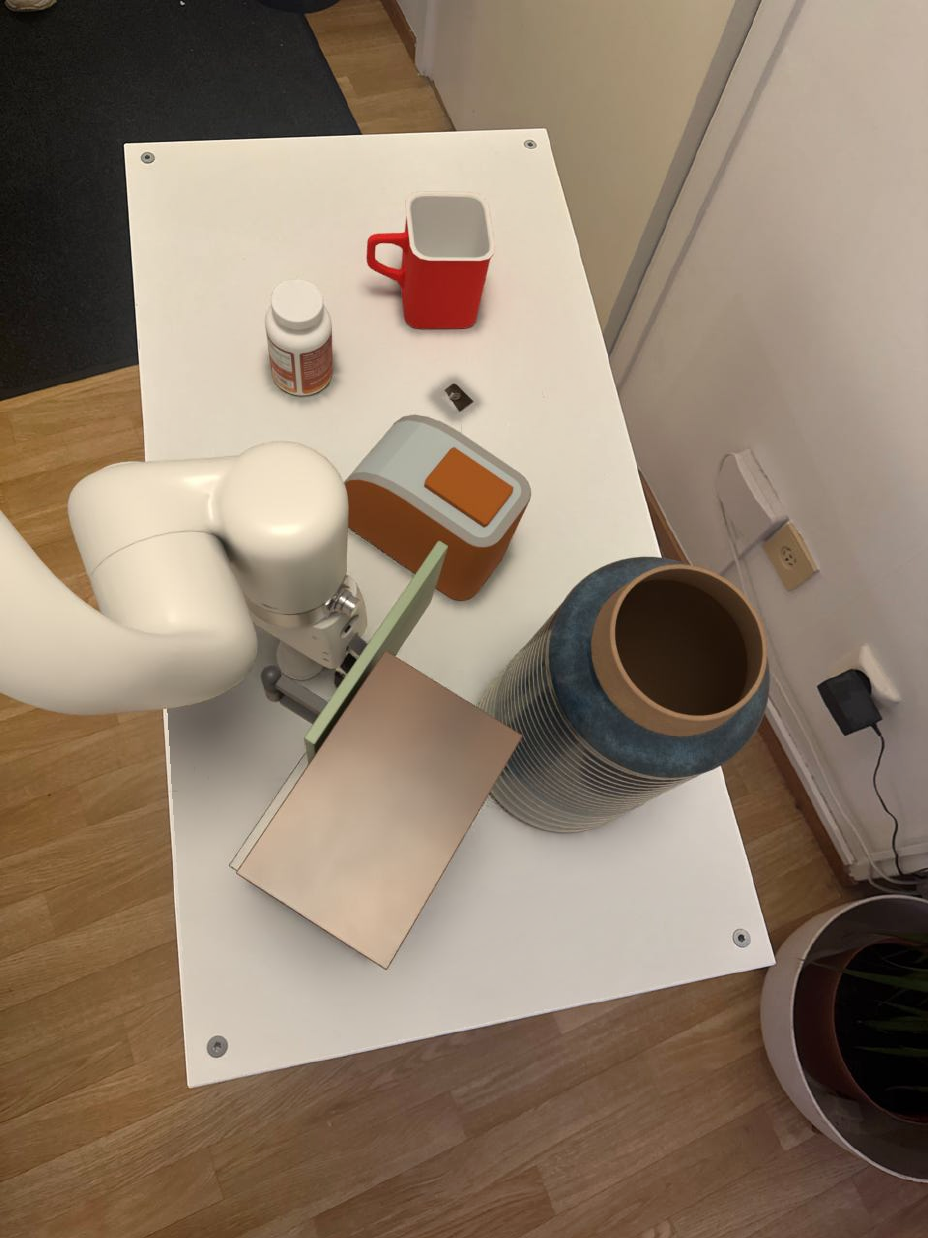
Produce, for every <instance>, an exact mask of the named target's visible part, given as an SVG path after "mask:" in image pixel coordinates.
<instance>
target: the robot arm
mask: <svg viewBox="0 0 928 1238" xmlns="http://www.w3.org/2000/svg"><path fill="white" fill-rule="evenodd" d="M344 481H345V480H344V479H343V477H342V475H341V473H340V472H339V471H338V469H337V467H336V466H335V465H334V464H333V463H332V462H331V461H330V460H329V458H328V457H326V456H324V455H323V454H322V453H321V452H320V451H318V450H317V449H315V448H313V447H310V446H308V445H306V444H302V443H299V442H295V441H287V440H273V441H268V442H262V443H259V444H257V445H254V446H251V447H249V448H248V449H245V450H243V451H242V452H241V453H240V454H238V455H237V454H236V455H227V456H215V457H214V456H213V457H202V458H185V459H184V458H183V459H164V460H148V461H138V460H137V461H134V460H133V461H132V460H131V461H129V460H128V461H120V462H116V463H112V464H109V465H107V466H105V467H103V468H101V469H99V470H96V471H95V472H92V473H90V474H88V475H87V476H84V477H83V478H82V479H81V480H79V481H78V482H77V483H76V484H75V486H74V487H73V489H71V492H70V494H69V497H68V501H67V515H68V521H69V524H70V528H71V532H72V534H73V538H74V541H75V543H76V545H77V549H78V551H79V555H80V558H81V560H82V563H83V567H84V569H85V571H86V574H87V577H88V580H89V583H90V587H91V590H92V593H93V595H94V598H95V601H96V604H97V606H98V610H97V609H96V608H93V607H92V606H91V605H90V604H88V602H86V601H84V600H83V599H82V598H81V597H79V596H78V595H77V594H76V593H74V592H73V591H72V590H71V589H70V588H69V587H68V586H67V585H66V584H65V583H64V582H62V580H60V578H58V577H57V576H56V575H55V573H53V571H52V570H51V569H50V568H49V567H48V566H47V565H46V564H45V562H43V560H42V559H41V558H40V557H39V555H38V554H37V553H36V552H35V550H33V549H32V547H31V546H30V544H29V543H28V542H27V541H26V540H25V538H24V537H23V535H22V534H20V531H18V529H16V527H15V526H14V525H13V523H12V522H11V521H10V520H9V519H8V517H7V516H6V515H5V514H4V513H3V512H4V511H2V509H0V694H2V695H5V696H7V697H9V698H11V699H14V700H15V701H18V702H21V703H23V704H26V705H29V706H32V707H35V708H38V709H42V710H44V711H48V712H53V713H58V714H63V715H72V716H73V715H75V716H103V715H113V714H126V713H128V714H129V713H141V712H150V711H151V712H152V711H160V710H170V709H175V708H180V707H184V706H190V705H195V704H198V703H202V702H205V701H208V700H211V699H214V698H216V697H218V696H221V695H222V694H224V693H226V692H228V691H230V690H232V689H234V687H235V686H237V685H238V684H239V683H241V682H242V681H243V680H244V679H245V678H246V676H247V675H248V674H249V673H250V671H251V670H252V668H253V665H254V664H255V662H256V658H257V654H258V636H257V630H256V627H255V625H256V626H258V627H259V628H261V629H262V630H264V631H266V632H267V633H269V634H271V635H272V636H274V637H275V638H277V639H279V641H280V640H281V641H283V642H285V643H286V644H288V645H289V646H291V647H293V648H294V649H296V650H298V651H299V652H301V653H302V654H304V655H306V656H307V657H309V658H311V659H312V660H314V661H316V662H317V663H319V664H321V665H323V667H324V668H327V669H329V670H334V669H335V671H334V674H333V683H334V685H335V686H334V687H335V688H336V689H337V688H338V687H339V685H340V684H341V682H342V681H343V679H344V678H345V677H346V675H347V674H348V672H349V671H350V669H351V668H352V666H353V665H354V663H355V662H356V660H357V659H358V658H359V656H360V655H361V653H362V652H363V650H364V649H365V647H366V646H367V644H368V643H369V642H367V641H366V640H364V639H363V638H362V637H363V636H364V633H365V632H366V630H367V628H368V615H367V614H368V613H367V607H366V603H365V602H366V601H365V599H364V596H363V593H362V592H361V589H360V587H359V585H358V584H357V582H356V581H355V580H354V579H353V578H352V577H351V576H350V575H349V574H348V541H349V539H348V538H349V527H348V509H349V507H348V496H347V490H346V487H345V484H344Z"/></svg>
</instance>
